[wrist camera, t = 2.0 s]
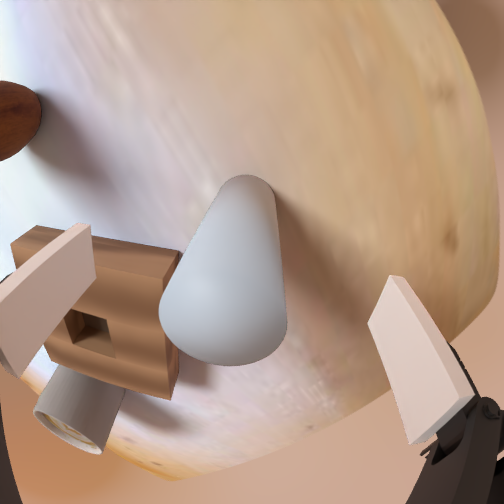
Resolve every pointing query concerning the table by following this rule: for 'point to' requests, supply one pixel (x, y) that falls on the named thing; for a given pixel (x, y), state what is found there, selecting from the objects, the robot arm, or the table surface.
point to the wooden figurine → (17, 117)
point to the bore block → (115, 315)
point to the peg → (230, 280)
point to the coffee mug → (79, 408)
